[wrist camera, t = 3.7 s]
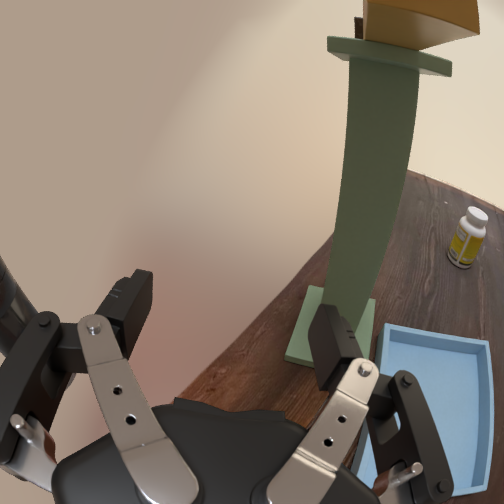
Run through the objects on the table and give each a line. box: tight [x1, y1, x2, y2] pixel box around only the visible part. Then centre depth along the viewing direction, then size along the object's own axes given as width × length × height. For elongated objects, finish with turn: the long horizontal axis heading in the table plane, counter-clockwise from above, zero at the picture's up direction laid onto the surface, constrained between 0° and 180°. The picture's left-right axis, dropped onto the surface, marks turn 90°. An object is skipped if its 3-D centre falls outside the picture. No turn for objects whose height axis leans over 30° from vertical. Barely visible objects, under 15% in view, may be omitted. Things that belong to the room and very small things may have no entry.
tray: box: [350, 323, 494, 497], centre depth 21 cm, size 18×22×3 cm
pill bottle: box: [448, 207, 488, 268], centre depth 39 cm, size 6×6×11 cm
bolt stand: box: [284, 36, 452, 368], centre depth 24 cm, size 10×12×32 cm
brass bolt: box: [354, 0, 480, 51], centre depth 9 cm, size 4×20×3 cm, turn 158°
